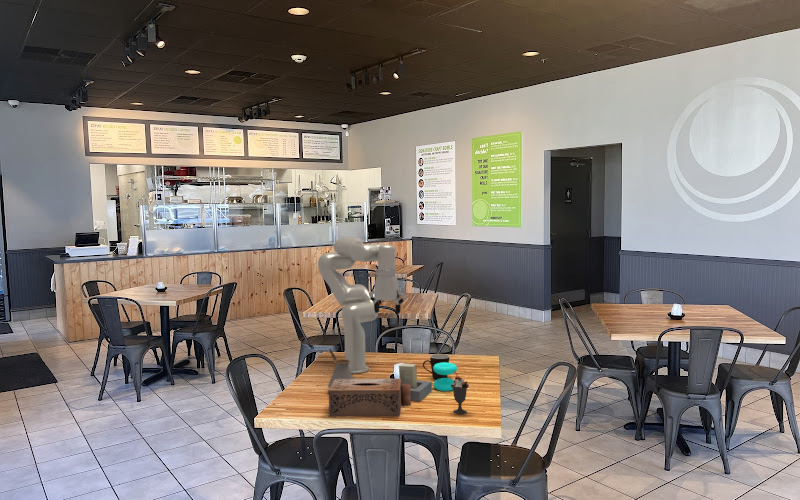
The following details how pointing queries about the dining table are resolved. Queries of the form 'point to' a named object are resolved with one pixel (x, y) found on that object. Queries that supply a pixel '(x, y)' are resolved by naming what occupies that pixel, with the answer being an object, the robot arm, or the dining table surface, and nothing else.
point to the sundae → (459, 393)
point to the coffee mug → (434, 360)
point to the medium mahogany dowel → (405, 394)
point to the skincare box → (408, 374)
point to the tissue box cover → (365, 397)
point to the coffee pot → (340, 369)
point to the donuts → (444, 369)
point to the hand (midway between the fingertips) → (387, 313)
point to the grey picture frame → (421, 390)
